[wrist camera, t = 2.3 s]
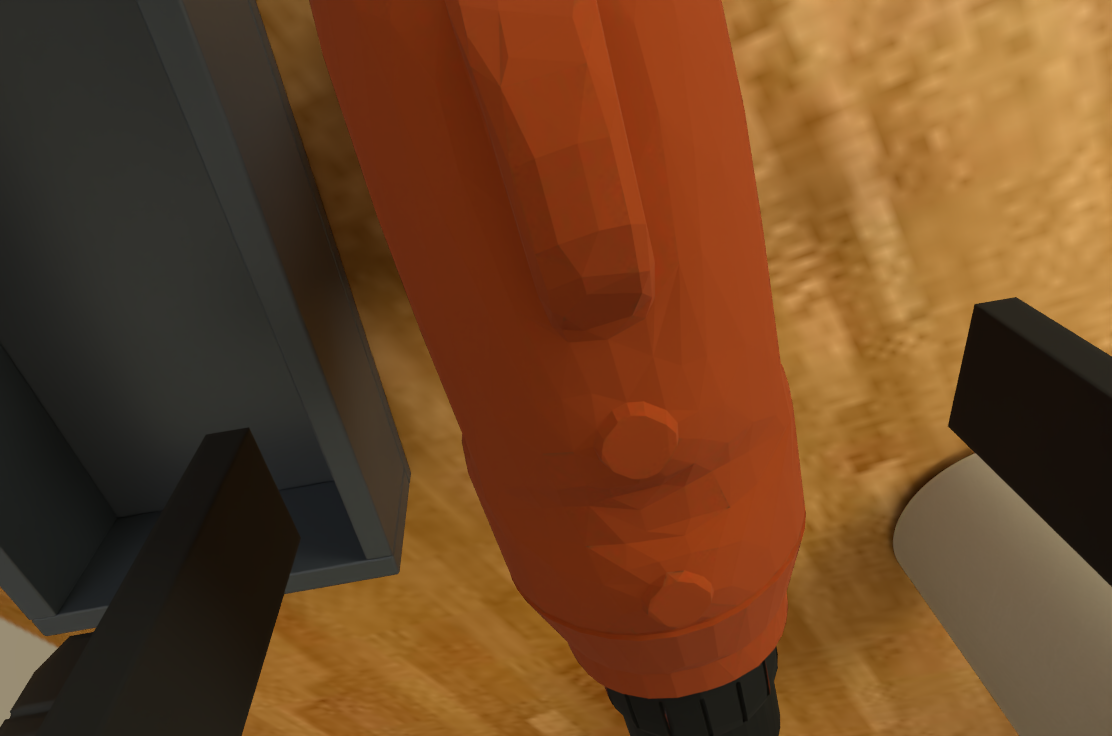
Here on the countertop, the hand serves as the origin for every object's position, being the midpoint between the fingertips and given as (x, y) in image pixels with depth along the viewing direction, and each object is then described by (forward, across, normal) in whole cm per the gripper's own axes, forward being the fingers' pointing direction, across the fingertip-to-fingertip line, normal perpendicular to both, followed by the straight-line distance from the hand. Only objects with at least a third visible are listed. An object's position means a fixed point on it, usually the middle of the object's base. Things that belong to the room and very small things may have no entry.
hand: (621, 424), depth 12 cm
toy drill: (+9, 0, 0) cm, 9 cm away
